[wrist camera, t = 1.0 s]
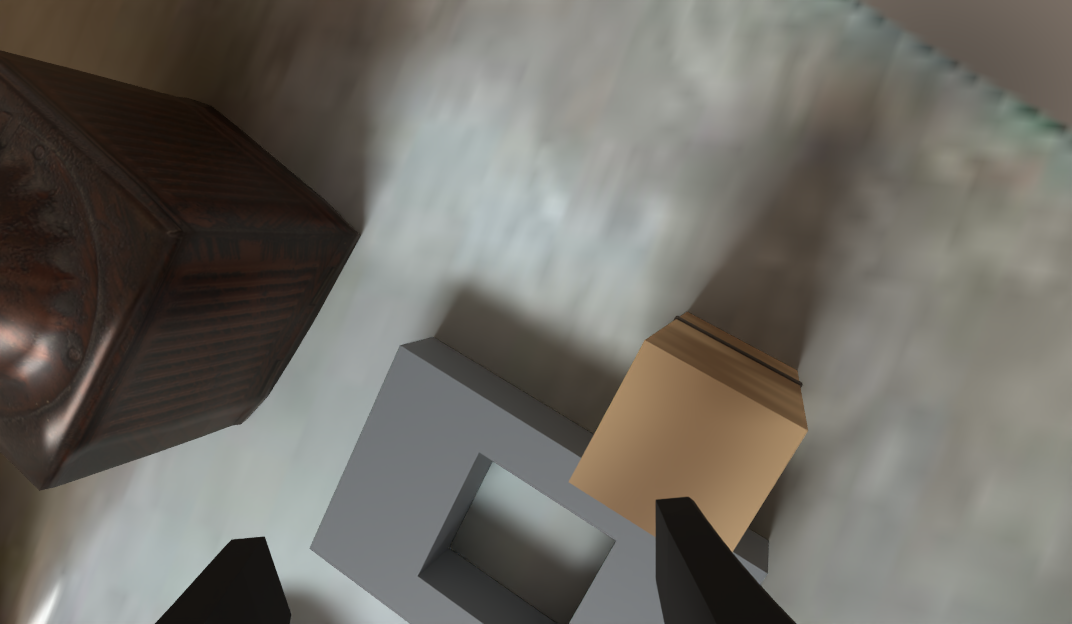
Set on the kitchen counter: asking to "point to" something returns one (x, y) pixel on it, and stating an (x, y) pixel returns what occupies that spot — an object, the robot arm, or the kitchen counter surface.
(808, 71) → the kitchen counter surface
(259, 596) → the robot arm
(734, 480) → the oak peg
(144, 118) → the manual coffee grinder
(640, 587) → the hole board
